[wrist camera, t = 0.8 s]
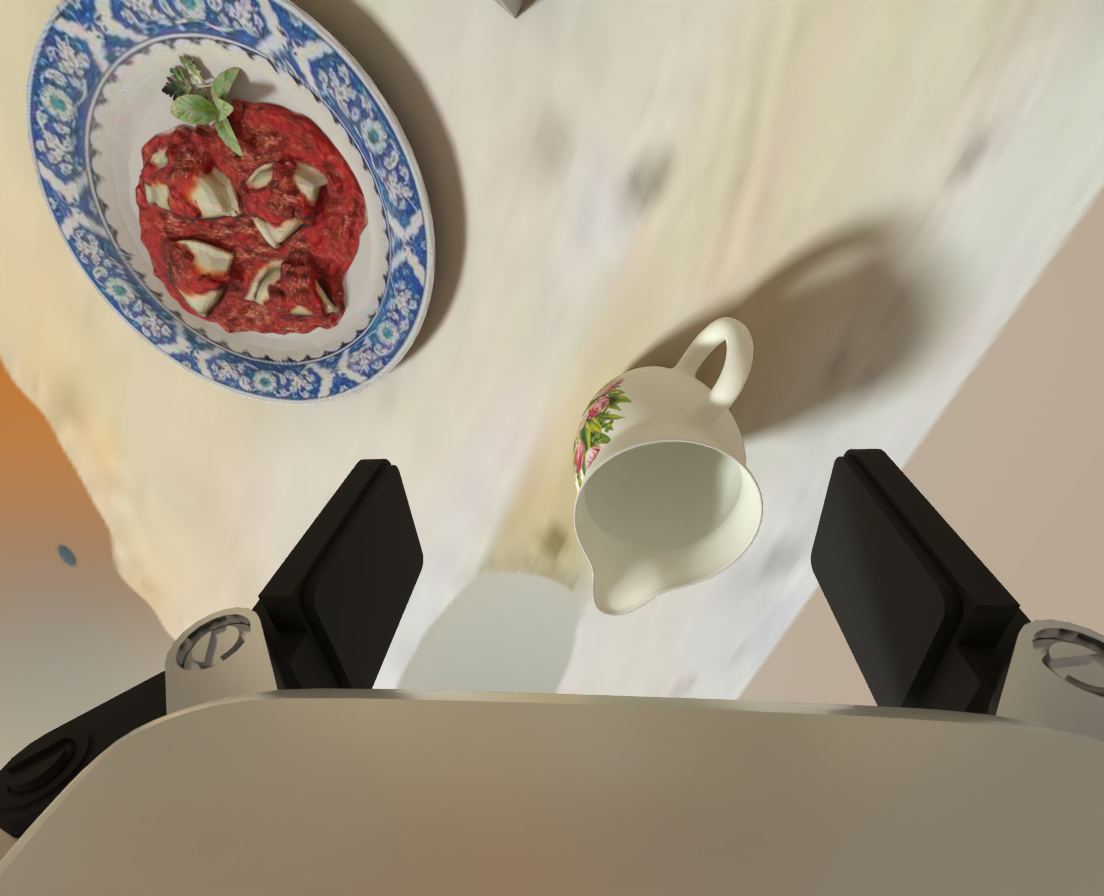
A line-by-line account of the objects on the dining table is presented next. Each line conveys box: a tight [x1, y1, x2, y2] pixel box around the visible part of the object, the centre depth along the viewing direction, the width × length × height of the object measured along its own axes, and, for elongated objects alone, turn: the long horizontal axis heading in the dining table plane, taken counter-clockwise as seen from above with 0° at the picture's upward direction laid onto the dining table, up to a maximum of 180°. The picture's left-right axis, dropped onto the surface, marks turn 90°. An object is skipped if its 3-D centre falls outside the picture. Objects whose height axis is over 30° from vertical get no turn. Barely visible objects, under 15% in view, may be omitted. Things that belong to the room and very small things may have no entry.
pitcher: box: [573, 317, 763, 616], centre depth 33 cm, size 11×18×14 cm, turn 159°
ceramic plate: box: [26, 0, 435, 405], centre depth 33 cm, size 26×26×3 cm
